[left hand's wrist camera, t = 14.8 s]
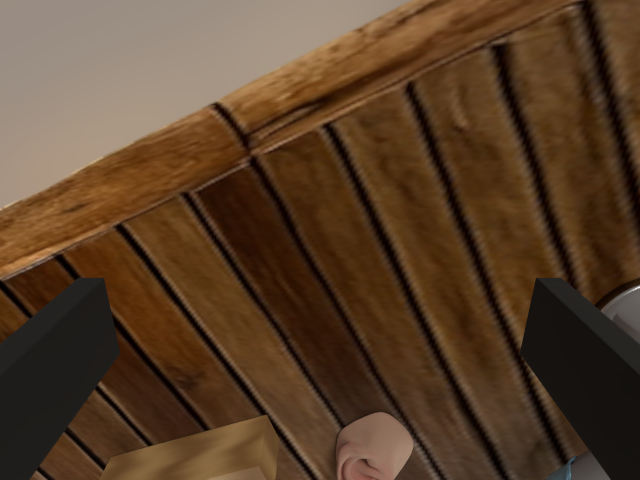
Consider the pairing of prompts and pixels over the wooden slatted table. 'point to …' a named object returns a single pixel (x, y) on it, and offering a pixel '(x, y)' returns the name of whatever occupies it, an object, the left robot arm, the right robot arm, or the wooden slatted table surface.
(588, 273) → the wooden slatted table surface
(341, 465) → the anatomical model
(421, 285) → the wooden slatted table surface
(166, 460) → the bar
